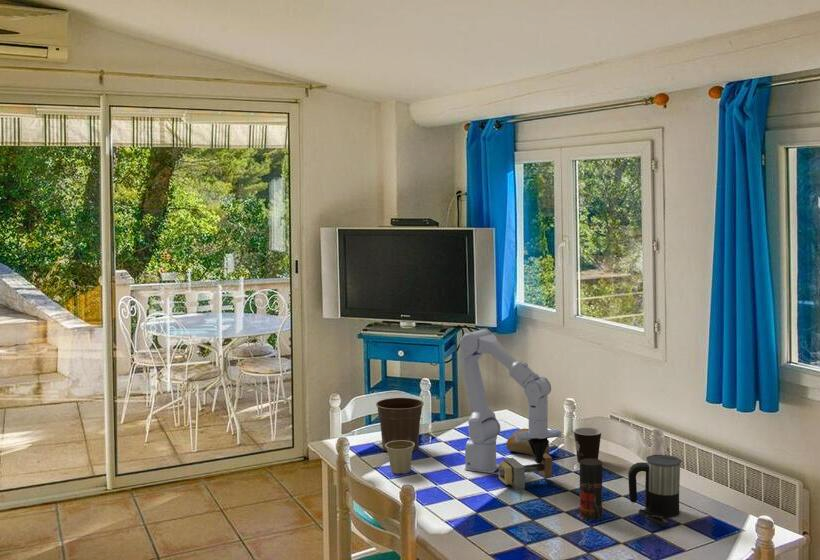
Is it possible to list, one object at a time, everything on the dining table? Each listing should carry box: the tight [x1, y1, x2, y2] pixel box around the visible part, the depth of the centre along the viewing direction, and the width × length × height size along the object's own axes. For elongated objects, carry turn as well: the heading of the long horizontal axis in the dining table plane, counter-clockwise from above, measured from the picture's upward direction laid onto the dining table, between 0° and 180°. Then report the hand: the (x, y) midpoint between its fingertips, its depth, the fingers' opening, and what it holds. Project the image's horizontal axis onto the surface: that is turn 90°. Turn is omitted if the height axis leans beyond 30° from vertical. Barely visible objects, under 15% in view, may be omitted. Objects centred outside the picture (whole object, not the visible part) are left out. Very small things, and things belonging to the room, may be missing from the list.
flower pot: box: [385, 440, 415, 475], centre depth 272 cm, size 9×9×9 cm
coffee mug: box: [573, 427, 602, 464], centre depth 279 cm, size 12×9×10 cm
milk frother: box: [627, 454, 683, 527], centre depth 230 cm, size 14×16×15 cm
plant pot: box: [375, 397, 424, 452], centre depth 295 cm, size 16×16×16 cm
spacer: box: [498, 461, 512, 485], centre depth 258 cm, size 2×6×5 cm, turn 15°
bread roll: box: [505, 428, 550, 456], centre depth 287 cm, size 10×15×8 cm, turn 62°
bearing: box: [503, 457, 526, 490], centre depth 258 cm, size 3×9×6 cm, turn 15°
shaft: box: [498, 453, 553, 479], centre depth 259 cm, size 16×4×6 cm, turn 105°
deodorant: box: [579, 458, 603, 521], centre depth 232 cm, size 6×6×15 cm
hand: (538, 462), depth 260 cm, fingers closed
